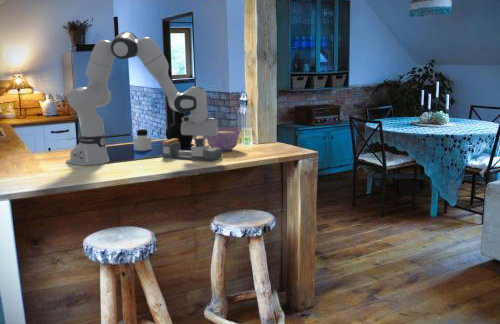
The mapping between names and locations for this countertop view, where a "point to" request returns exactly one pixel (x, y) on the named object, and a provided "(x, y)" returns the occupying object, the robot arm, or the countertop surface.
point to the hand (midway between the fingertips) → (200, 143)
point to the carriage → (199, 148)
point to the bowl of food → (224, 139)
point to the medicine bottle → (142, 140)
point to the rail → (189, 153)
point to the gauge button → (170, 141)
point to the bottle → (178, 131)
